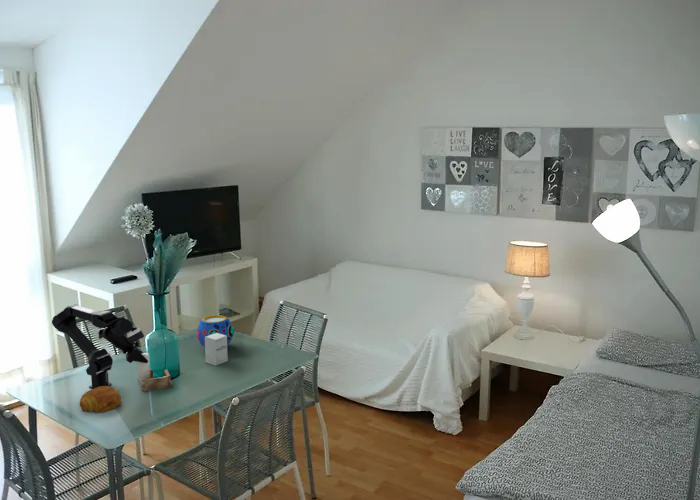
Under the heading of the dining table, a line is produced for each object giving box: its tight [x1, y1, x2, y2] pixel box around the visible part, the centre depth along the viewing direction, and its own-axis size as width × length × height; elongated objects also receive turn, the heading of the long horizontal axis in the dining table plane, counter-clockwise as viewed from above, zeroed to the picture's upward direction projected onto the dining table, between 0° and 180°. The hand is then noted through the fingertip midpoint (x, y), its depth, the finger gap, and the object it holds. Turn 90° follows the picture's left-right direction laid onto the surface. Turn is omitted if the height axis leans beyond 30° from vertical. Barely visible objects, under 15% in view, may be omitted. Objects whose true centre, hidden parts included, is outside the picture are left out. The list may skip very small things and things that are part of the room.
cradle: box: [137, 368, 173, 392], centre depth 268 cm, size 12×13×4 cm
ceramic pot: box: [196, 314, 235, 348], centre depth 309 cm, size 18×18×15 cm
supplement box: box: [204, 333, 229, 367], centre depth 291 cm, size 7×7×13 cm
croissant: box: [79, 385, 122, 414], centre depth 247 cm, size 14×16×8 cm
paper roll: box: [136, 352, 151, 380], centre depth 265 cm, size 5×5×10 cm
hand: (146, 359), depth 265 cm, fingers closed on paper roll, 5 cm apart
